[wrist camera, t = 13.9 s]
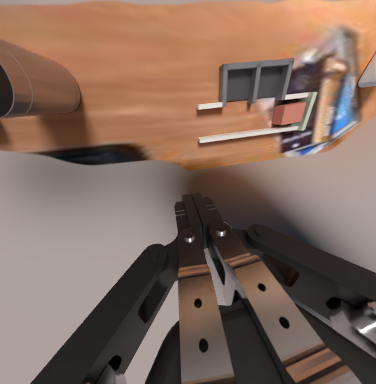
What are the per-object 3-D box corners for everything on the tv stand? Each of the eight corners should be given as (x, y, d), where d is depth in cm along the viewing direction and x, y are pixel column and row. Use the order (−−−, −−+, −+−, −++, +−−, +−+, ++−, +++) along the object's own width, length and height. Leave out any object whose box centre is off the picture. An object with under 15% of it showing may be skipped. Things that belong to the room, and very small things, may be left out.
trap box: (198, 141, 41) (201, 144, 37) (194, 68, 32) (198, 64, 29) (293, 128, 44) (304, 130, 40) (313, 58, 35) (330, 53, 32)
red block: (271, 123, 42) (281, 125, 38) (274, 106, 39) (285, 106, 36) (290, 120, 42) (301, 121, 39) (294, 102, 40) (306, 102, 36)
